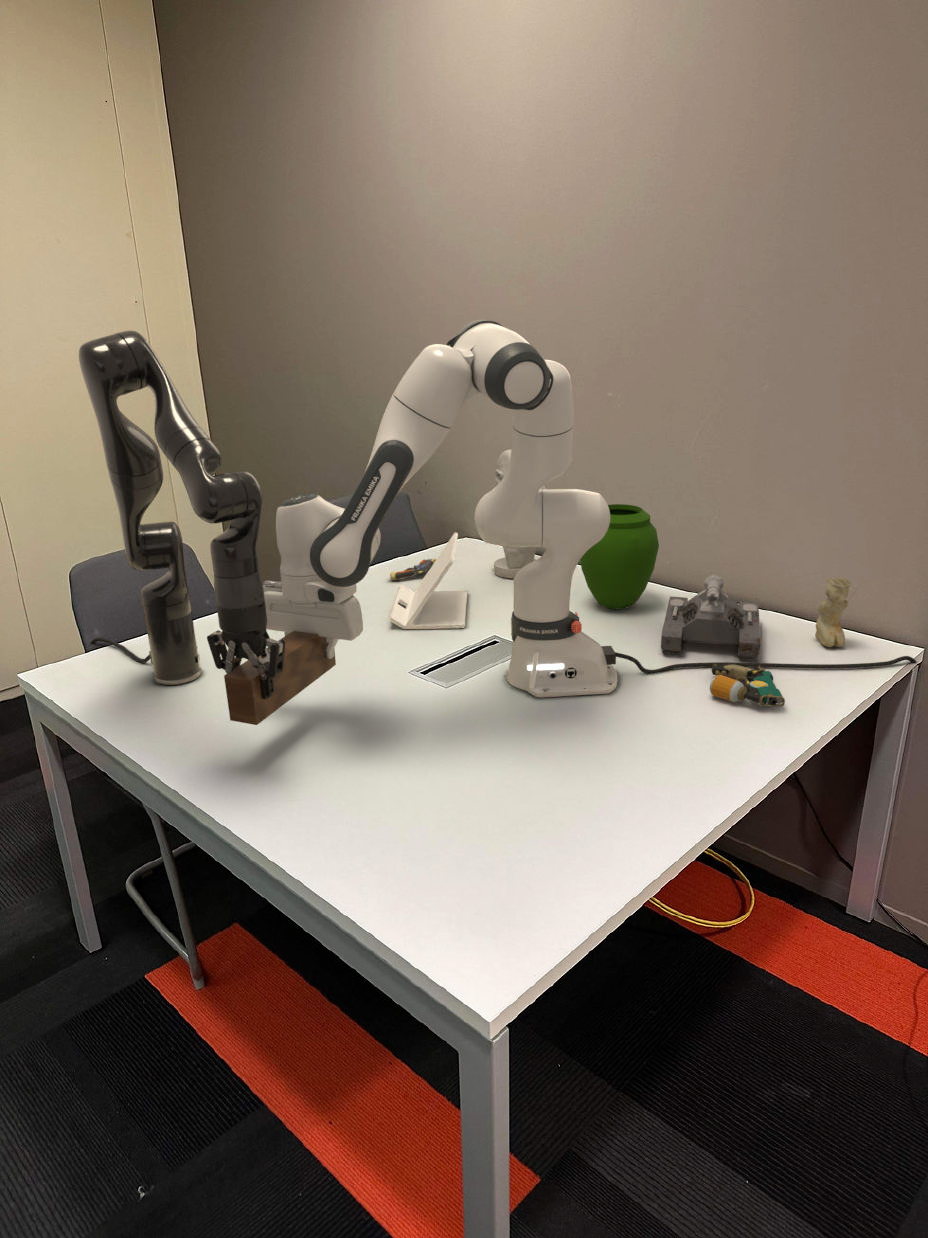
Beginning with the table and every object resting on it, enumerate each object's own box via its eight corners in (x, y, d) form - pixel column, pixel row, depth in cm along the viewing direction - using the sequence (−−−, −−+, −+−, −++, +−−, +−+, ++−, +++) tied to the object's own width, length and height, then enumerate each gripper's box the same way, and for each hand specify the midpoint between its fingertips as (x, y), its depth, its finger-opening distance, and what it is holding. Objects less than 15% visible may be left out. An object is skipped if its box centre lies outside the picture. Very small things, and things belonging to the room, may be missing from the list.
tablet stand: (467, 593, 225) (465, 531, 219) (465, 628, 202) (462, 559, 196) (399, 594, 226) (395, 532, 220) (388, 629, 203) (384, 560, 197)
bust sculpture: (503, 593, 225) (502, 460, 212) (483, 567, 247) (480, 445, 234) (562, 587, 228) (563, 456, 215) (536, 562, 250) (536, 441, 237)
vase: (599, 587, 227) (601, 497, 218) (668, 600, 216) (673, 505, 208) (562, 608, 212) (564, 513, 204) (634, 623, 202) (639, 523, 193)
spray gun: (713, 672, 176) (790, 685, 171) (698, 700, 162) (781, 716, 156) (716, 652, 175) (793, 666, 169) (701, 680, 161) (785, 695, 155)
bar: (311, 661, 163) (307, 621, 160) (336, 664, 161) (332, 624, 159) (230, 720, 141) (223, 675, 138) (256, 725, 139) (251, 679, 136)
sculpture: (821, 649, 184) (830, 583, 179) (808, 637, 191) (816, 573, 185) (848, 649, 184) (858, 582, 179) (834, 636, 191) (843, 572, 185)
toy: (668, 615, 206) (672, 556, 200) (756, 622, 200) (762, 561, 195) (660, 656, 183) (663, 590, 178) (758, 664, 177) (765, 596, 172)
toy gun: (387, 573, 236) (422, 570, 234) (404, 558, 254) (437, 555, 252) (388, 582, 237) (423, 579, 235) (405, 567, 255) (438, 564, 252)
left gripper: (188, 601, 135) (203, 698, 141) (264, 611, 130) (276, 710, 136) (217, 587, 142) (230, 680, 148) (291, 595, 136) (301, 691, 142)
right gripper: (247, 584, 155) (256, 654, 159) (347, 595, 147) (352, 668, 152) (267, 574, 160) (275, 642, 165) (364, 584, 153) (369, 655, 158)
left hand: (252, 694), depth 142 cm, fingers closed on bar, 5 cm apart
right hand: (313, 655), depth 158 cm, fingers closed on bar, 5 cm apart
